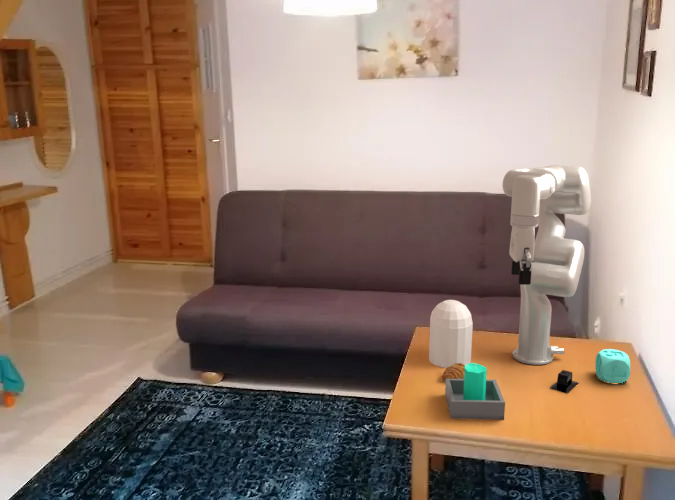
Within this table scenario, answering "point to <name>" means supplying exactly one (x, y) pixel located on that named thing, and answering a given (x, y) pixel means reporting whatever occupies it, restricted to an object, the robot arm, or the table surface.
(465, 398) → the candle
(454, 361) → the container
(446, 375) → the pastry
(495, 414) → the bin
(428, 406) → the table surface
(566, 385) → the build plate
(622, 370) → the decorative dice
